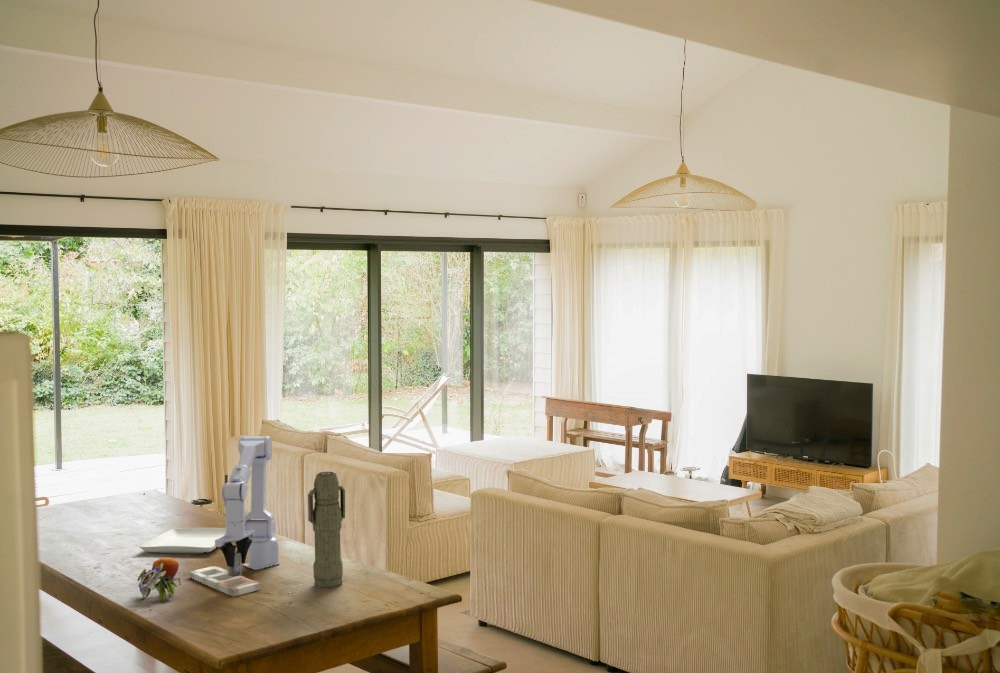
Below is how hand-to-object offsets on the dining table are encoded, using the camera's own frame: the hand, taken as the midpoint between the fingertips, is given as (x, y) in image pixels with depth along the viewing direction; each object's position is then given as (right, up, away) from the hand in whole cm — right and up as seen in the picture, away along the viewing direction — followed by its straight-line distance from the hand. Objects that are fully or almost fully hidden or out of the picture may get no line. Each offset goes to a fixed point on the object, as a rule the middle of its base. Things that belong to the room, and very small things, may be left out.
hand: (236, 564), depth 284 cm
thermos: (+28, -7, +4) cm, 29 cm away
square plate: (-31, -7, +53) cm, 62 cm away
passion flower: (-22, -8, -6) cm, 24 cm away
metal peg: (0, -3, 0) cm, 3 cm away
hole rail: (-6, -7, +6) cm, 11 cm away
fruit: (-26, -8, +12) cm, 30 cm away
